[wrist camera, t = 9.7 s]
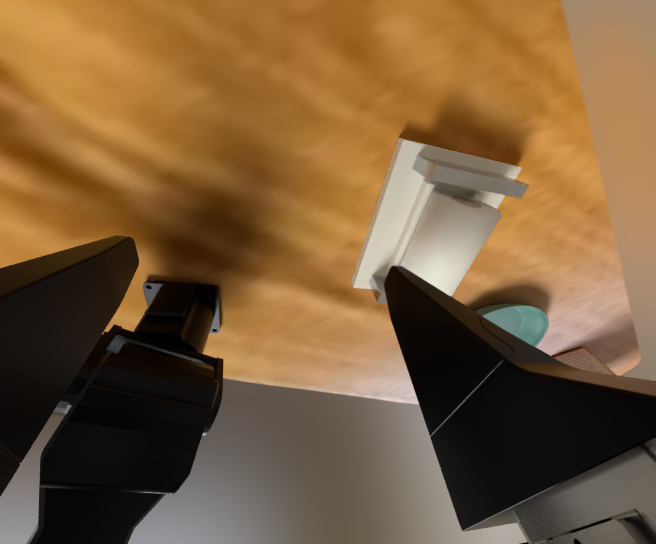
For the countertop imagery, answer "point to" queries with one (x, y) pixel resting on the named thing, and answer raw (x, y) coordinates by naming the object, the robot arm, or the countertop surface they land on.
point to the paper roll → (449, 238)
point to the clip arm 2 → (468, 177)
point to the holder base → (413, 204)
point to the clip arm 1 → (379, 288)
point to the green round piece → (518, 320)
